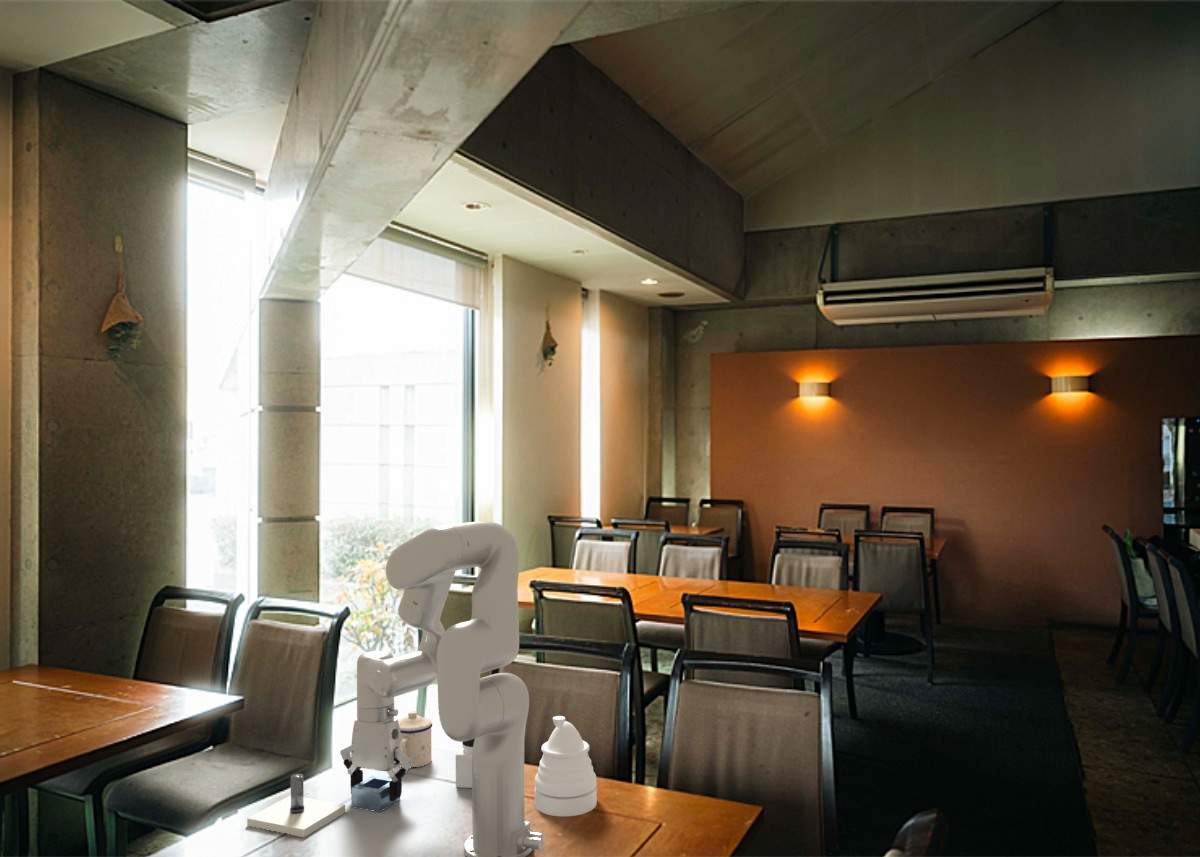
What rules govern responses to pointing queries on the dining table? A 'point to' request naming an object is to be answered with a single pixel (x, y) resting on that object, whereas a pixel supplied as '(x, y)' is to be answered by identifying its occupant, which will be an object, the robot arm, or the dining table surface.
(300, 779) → the steel post
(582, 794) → the honey pot
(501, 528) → the robot arm
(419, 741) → the teacup with lid
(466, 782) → the medicine bottle
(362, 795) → the collar
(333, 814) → the base plate
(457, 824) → the dining table surface
